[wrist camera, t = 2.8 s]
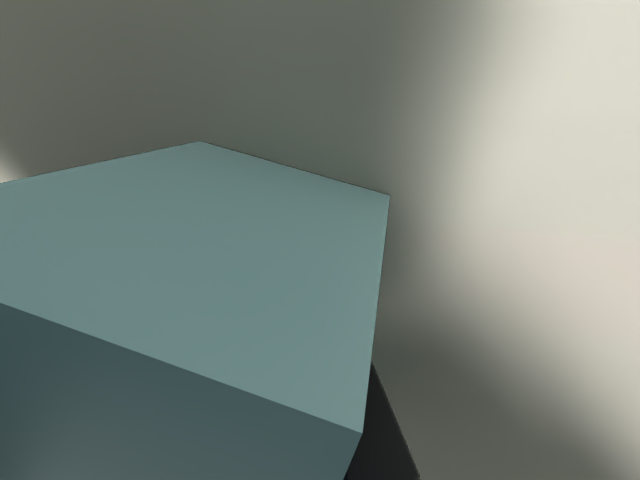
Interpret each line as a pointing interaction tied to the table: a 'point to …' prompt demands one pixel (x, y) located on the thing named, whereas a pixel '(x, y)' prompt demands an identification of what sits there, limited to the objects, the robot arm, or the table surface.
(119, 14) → the table surface
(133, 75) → the table surface
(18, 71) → the table surface
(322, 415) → the block
